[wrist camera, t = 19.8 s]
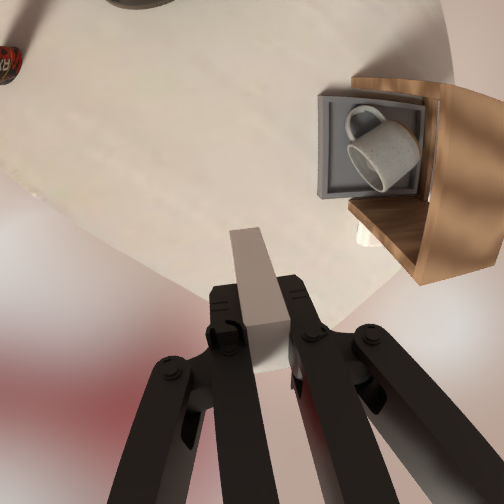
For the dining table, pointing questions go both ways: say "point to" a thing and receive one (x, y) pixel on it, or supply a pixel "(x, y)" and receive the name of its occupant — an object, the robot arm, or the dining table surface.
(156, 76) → the dining table surface
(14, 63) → the deodorant
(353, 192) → the tray
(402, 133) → the ceramic mug
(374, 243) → the soap
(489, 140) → the wooden cube shelf
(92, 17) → the dining table surface
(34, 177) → the dining table surface
